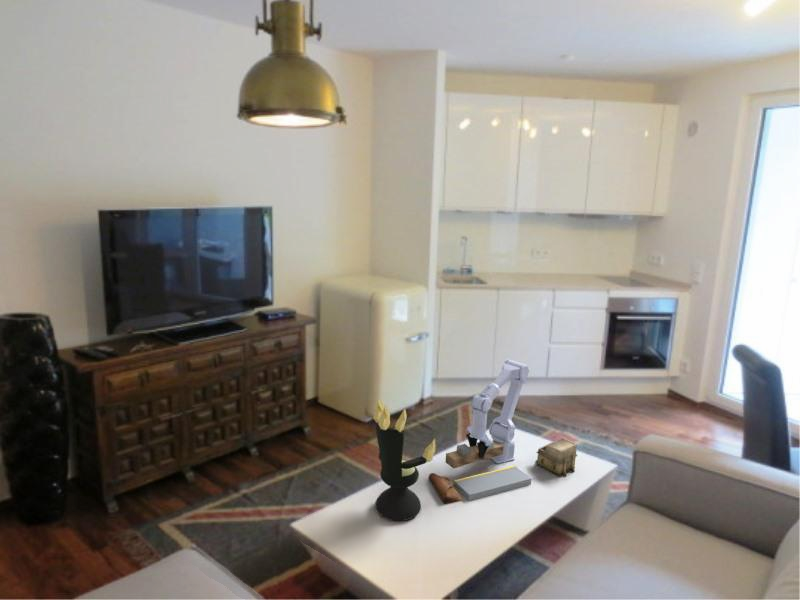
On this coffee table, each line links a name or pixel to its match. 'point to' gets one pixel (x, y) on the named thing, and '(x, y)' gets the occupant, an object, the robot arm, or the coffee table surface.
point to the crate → (463, 449)
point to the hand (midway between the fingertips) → (477, 454)
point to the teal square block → (490, 445)
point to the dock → (491, 482)
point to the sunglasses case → (445, 488)
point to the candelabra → (397, 468)
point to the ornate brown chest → (557, 457)
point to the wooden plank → (472, 455)
